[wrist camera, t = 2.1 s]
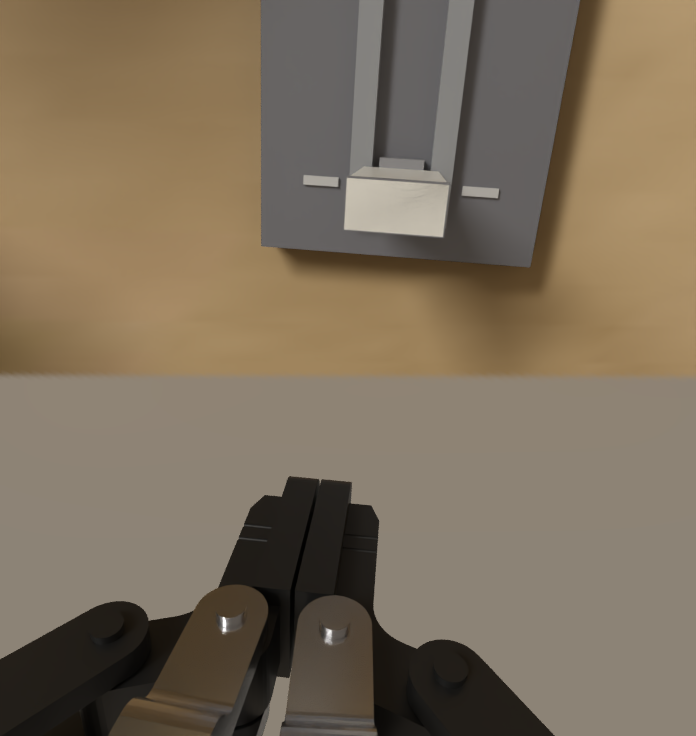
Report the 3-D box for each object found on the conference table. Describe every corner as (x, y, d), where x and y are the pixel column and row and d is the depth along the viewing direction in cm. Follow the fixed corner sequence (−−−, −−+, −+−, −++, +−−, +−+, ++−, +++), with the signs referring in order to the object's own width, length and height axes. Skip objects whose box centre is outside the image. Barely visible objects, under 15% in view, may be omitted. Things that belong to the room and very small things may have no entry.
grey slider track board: (270, 239, 36) (257, 249, 33) (273, -325, 26) (254, -390, 23) (522, 258, 35) (533, 271, 32) (627, -323, 25) (659, -391, 22)
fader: (361, 211, 32) (342, 241, 23) (365, 155, 31) (346, 164, 22) (433, 216, 32) (442, 249, 23) (439, 160, 31) (452, 171, 22)
